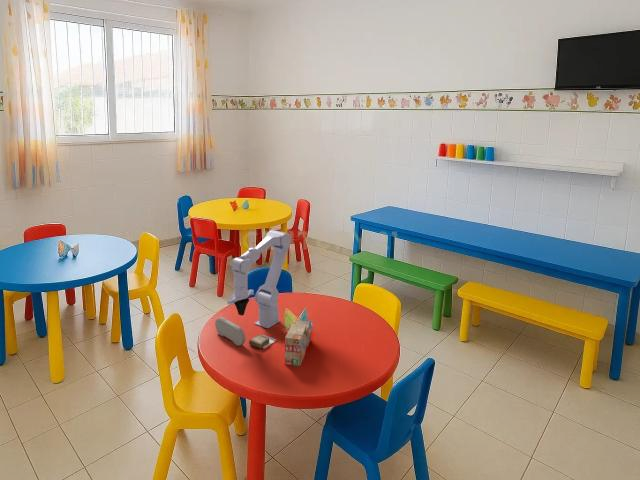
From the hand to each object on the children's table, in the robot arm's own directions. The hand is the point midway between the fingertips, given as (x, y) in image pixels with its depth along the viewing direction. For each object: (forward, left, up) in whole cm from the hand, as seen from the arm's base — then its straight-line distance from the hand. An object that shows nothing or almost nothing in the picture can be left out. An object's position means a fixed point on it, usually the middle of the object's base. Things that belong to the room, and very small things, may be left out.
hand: (241, 314), depth 201 cm
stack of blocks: (-4, +28, -11) cm, 30 cm away
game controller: (+5, -2, -11) cm, 12 cm away
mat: (-1, +11, -10) cm, 15 cm away
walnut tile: (+4, +11, -9) cm, 15 cm away
